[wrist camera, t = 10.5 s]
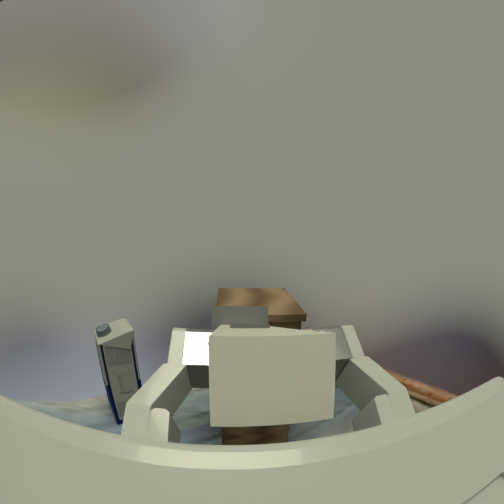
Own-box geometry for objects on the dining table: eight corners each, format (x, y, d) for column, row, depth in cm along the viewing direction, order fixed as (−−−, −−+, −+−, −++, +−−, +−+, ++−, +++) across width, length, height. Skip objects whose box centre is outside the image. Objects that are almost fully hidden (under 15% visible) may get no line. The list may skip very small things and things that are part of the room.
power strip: (178, 424, 7) (177, 269, 8) (213, 347, 32) (213, 307, 33) (359, 413, 8) (360, 271, 9) (262, 347, 33) (262, 308, 34)
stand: (219, 451, 37) (215, 314, 34) (220, 403, 52) (218, 287, 49) (289, 448, 38) (306, 314, 35) (276, 402, 53) (284, 288, 50)
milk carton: (148, 418, 44) (133, 329, 42) (117, 425, 39) (96, 333, 37) (138, 400, 49) (125, 316, 47) (109, 405, 45) (92, 319, 43)
